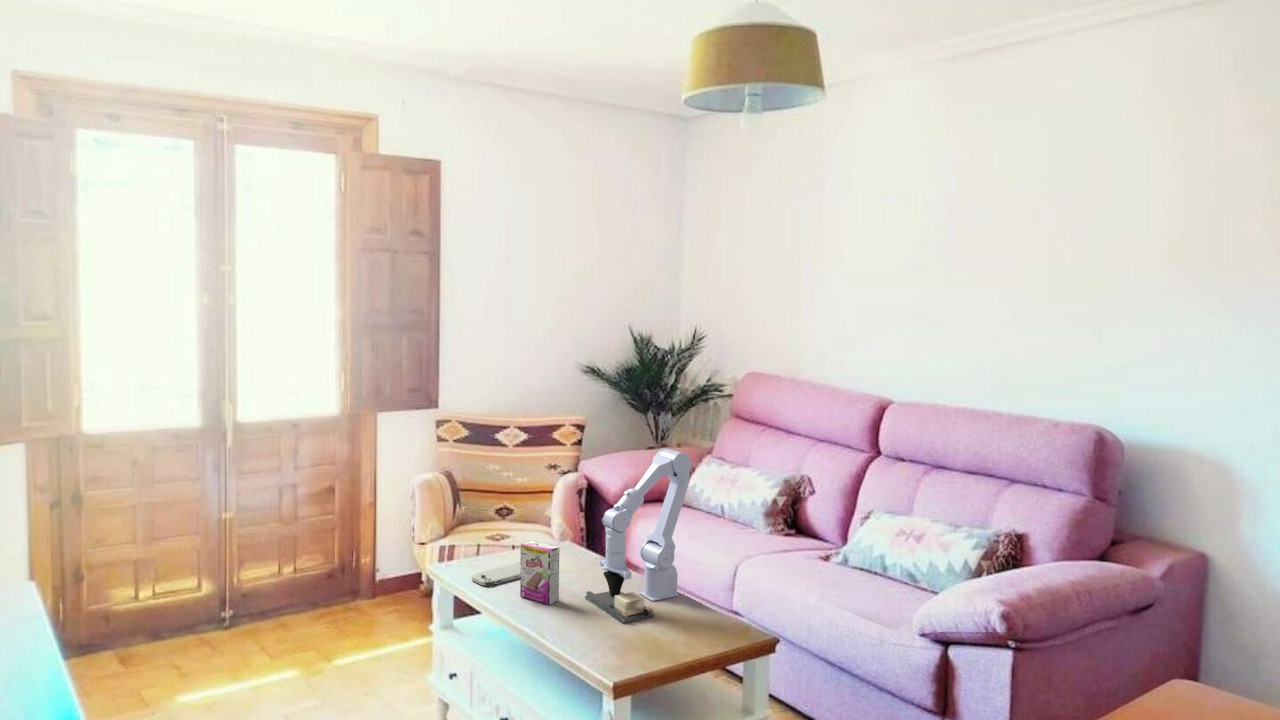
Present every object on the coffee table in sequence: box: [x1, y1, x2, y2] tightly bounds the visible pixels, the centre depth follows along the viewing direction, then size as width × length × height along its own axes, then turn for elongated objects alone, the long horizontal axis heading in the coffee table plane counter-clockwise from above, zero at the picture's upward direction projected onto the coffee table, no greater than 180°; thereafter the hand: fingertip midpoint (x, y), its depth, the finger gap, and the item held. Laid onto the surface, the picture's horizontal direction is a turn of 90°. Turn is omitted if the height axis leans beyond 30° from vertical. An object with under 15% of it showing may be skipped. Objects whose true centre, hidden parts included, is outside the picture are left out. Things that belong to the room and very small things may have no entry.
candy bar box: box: [519, 540, 560, 606], centre depth 264 cm, size 11×5×16 cm, turn 58°
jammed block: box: [614, 591, 645, 615], centre depth 254 cm, size 6×6×4 cm
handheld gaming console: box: [471, 561, 521, 588], centre depth 285 cm, size 23×3×10 cm
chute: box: [584, 590, 655, 625], centre depth 259 cm, size 10×22×2 cm, turn 32°
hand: (614, 596), depth 261 cm, fingers closed
